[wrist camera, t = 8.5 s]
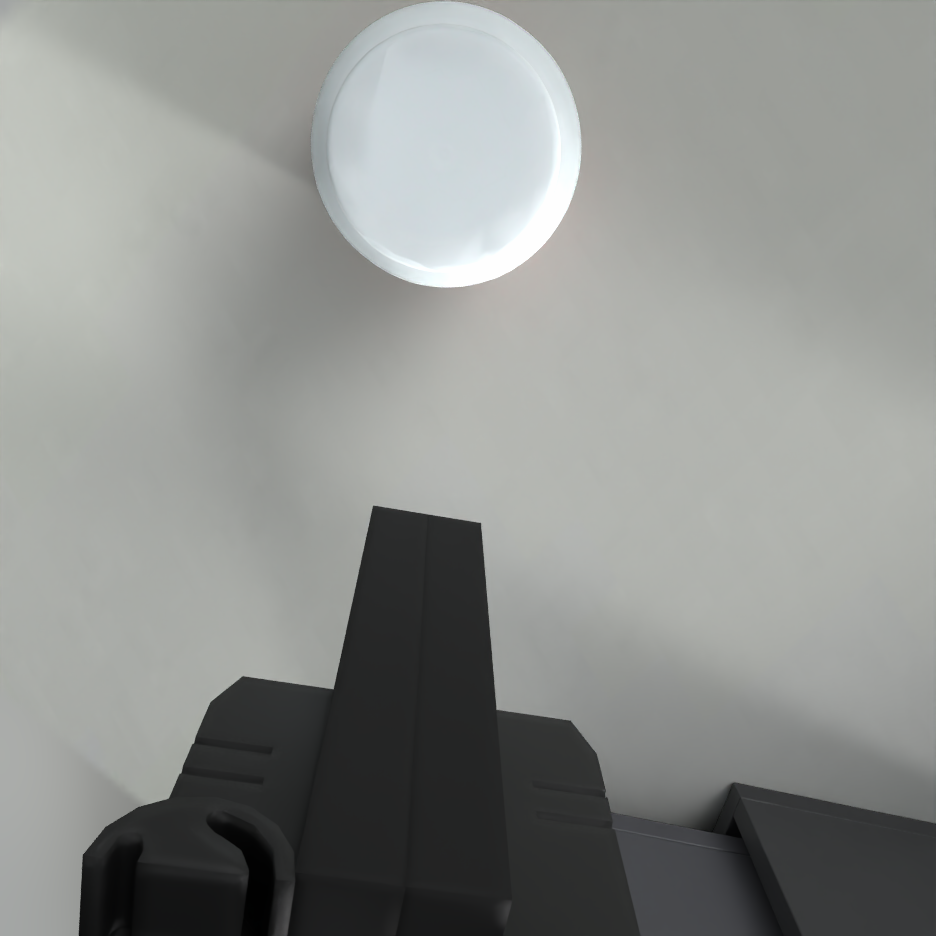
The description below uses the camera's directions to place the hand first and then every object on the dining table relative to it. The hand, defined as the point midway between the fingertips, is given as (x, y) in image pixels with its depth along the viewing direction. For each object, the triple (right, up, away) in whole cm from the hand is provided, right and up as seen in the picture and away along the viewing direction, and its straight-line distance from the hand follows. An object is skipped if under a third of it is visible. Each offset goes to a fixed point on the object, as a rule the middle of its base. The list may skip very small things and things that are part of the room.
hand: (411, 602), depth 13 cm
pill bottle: (0, +11, +12) cm, 16 cm away
